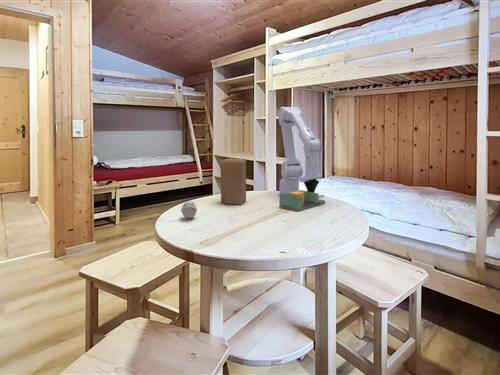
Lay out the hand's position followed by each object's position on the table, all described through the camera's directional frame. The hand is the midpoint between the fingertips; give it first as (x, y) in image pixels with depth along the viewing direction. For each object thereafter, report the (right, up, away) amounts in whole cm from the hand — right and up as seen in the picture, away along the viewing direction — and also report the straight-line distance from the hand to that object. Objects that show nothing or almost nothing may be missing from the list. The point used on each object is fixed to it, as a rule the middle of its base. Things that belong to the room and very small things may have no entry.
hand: (310, 196), depth 154 cm
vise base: (-4, -4, -3) cm, 7 cm away
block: (-35, -3, +3) cm, 36 cm away
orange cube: (-7, -3, -7) cm, 10 cm away
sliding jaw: (0, -2, +1) cm, 2 cm away
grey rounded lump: (-51, -8, -24) cm, 57 cm away
